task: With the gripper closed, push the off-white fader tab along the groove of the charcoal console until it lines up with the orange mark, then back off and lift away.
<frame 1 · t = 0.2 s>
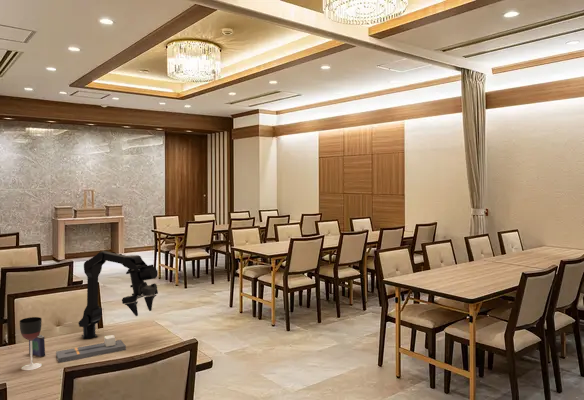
hand: (143, 313, 219), 15 cm above the table, tool pointing down, fingers open, 9 cm apart
fader tab: (109, 340, 212), point 4 cm above the table, slide at 8.0 cm
flask: (37, 355, 205), on the table
wineglass: (31, 367, 192), on the table
console: (91, 352, 207), on the table
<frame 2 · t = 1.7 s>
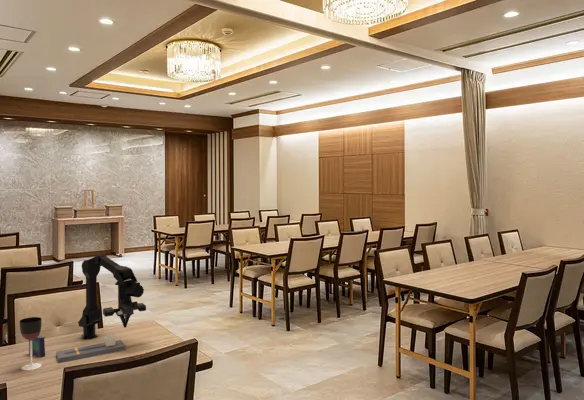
hand: (125, 327, 215), 9 cm above the table, tool pointing down, fingers closed
nothing on the table moved.
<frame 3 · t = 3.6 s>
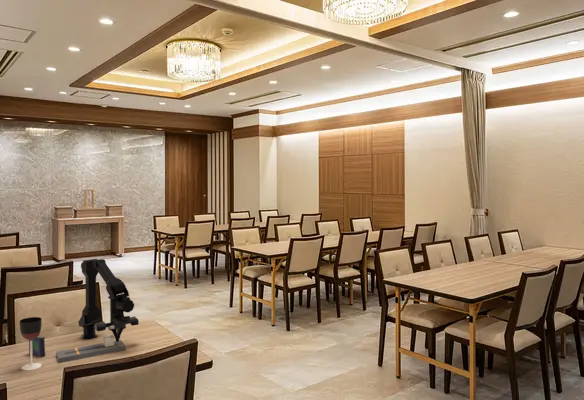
hand: (117, 341, 213), 3 cm above the table, tool pointing down, fingers closed
fader tab: (108, 340, 211), point 4 cm above the table, slide at 7.5 cm, touching gripper
everything else where it was.
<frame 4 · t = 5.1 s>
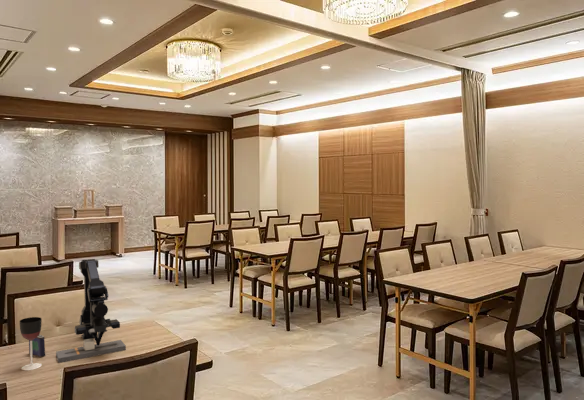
hand: (98, 345, 209), 3 cm above the table, tool pointing down, fingers closed
fader tab: (89, 344, 207), point 4 cm above the table, slide at -1.0 cm, touching gripper
everything else where it was.
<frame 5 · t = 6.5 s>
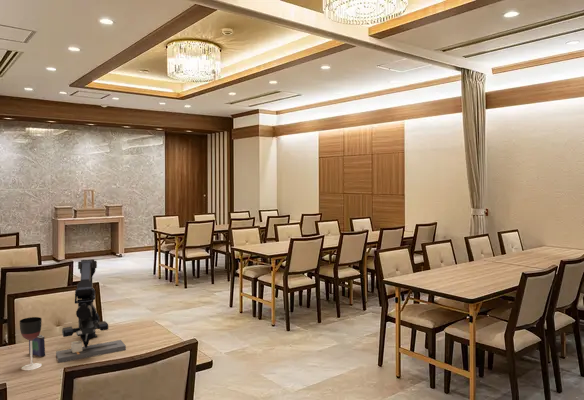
hand: (85, 347, 206), 3 cm above the table, tool pointing down, fingers closed
fader tab: (76, 346, 204), point 4 cm above the table, slide at -6.1 cm, touching gripper
everything else where it was.
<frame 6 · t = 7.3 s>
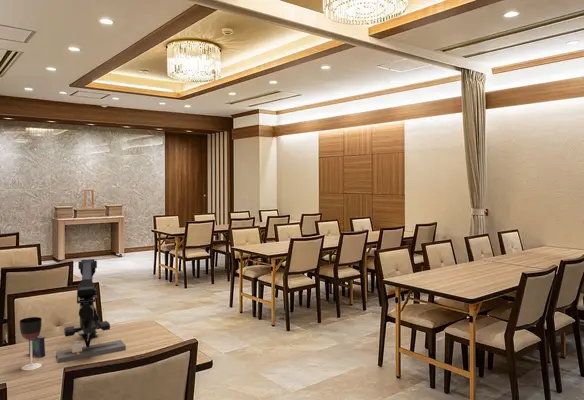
hand: (87, 347, 206), 3 cm above the table, tool pointing down, fingers closed
fader tab: (76, 346, 204), point 4 cm above the table, slide at -6.2 cm
everything else where it was.
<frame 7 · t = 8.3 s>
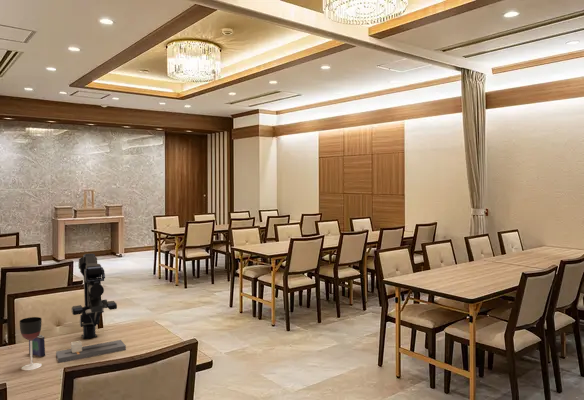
hand: (94, 326, 209), 12 cm above the table, tool pointing down, fingers closed
nothing on the table moved.
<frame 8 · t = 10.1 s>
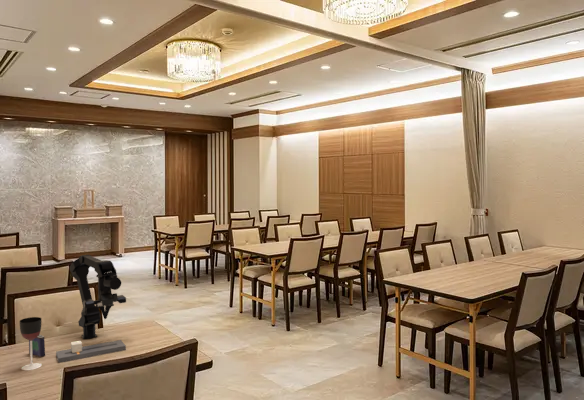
hand: (105, 318, 220), 12 cm above the table, tool pointing down, fingers closed
nothing on the table moved.
at the end: fader tab slide at -6.2 cm; wineglass moved 0.2 cm from its start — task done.
